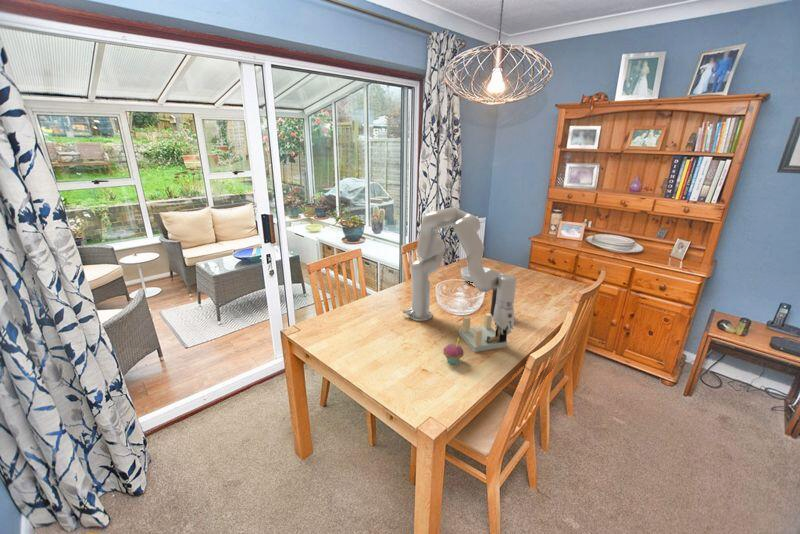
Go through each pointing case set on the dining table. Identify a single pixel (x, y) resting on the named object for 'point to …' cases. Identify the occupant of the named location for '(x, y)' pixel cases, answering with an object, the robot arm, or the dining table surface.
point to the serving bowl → (466, 274)
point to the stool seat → (480, 335)
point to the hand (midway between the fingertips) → (500, 338)
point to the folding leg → (490, 339)
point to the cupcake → (453, 353)
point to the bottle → (493, 300)
